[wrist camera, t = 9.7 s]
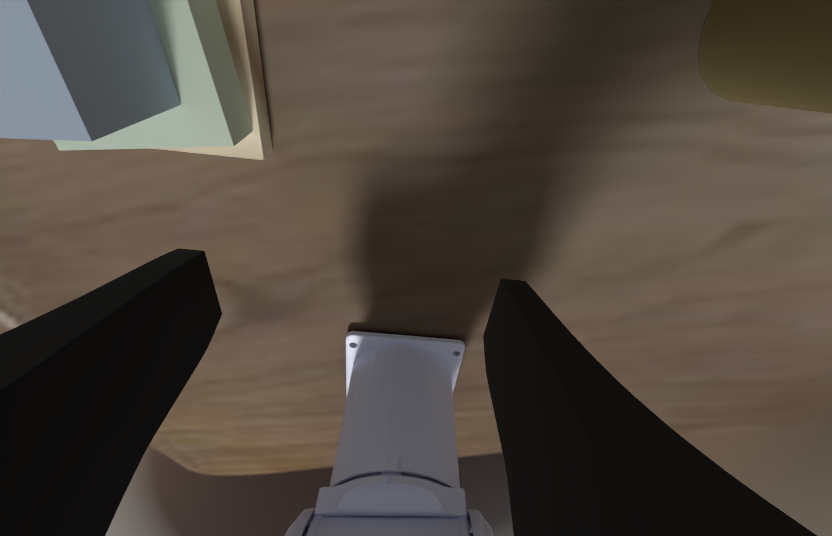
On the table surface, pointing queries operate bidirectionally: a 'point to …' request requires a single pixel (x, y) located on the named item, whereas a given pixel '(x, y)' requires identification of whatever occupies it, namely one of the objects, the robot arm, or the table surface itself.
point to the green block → (188, 86)
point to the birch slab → (244, 81)
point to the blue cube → (80, 68)
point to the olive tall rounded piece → (769, 52)
